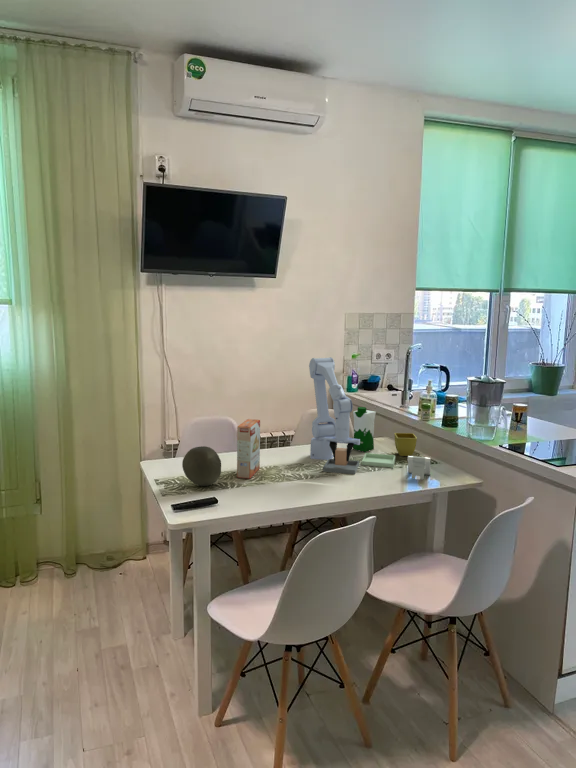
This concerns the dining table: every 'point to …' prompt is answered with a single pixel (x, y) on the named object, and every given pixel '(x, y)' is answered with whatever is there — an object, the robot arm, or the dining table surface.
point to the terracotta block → (341, 456)
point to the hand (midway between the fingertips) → (341, 460)
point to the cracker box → (248, 448)
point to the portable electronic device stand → (418, 466)
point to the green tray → (378, 460)
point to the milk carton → (364, 429)
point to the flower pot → (405, 443)
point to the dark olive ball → (202, 466)
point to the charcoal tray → (341, 467)
